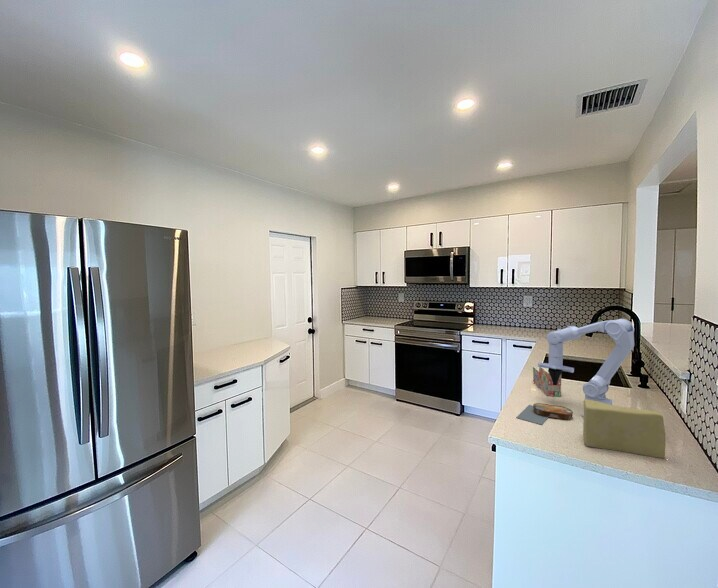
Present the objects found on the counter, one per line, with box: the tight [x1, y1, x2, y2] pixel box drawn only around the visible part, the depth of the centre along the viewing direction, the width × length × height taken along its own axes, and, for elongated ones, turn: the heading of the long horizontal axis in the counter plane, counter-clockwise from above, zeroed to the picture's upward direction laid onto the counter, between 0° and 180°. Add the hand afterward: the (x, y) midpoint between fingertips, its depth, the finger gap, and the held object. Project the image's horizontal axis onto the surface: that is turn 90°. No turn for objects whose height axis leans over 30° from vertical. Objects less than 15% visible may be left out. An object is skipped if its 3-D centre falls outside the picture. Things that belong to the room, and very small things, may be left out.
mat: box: [516, 404, 549, 426], centre depth 140 cm, size 10×18×1 cm, turn 136°
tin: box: [532, 402, 574, 421], centre depth 139 cm, size 15×3×8 cm
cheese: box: [582, 398, 666, 459], centre depth 111 cm, size 22×10×15 cm, turn 58°
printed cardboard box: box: [532, 366, 562, 398], centre depth 170 cm, size 21×6×12 cm, turn 169°
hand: (555, 384), depth 151 cm, fingers closed
